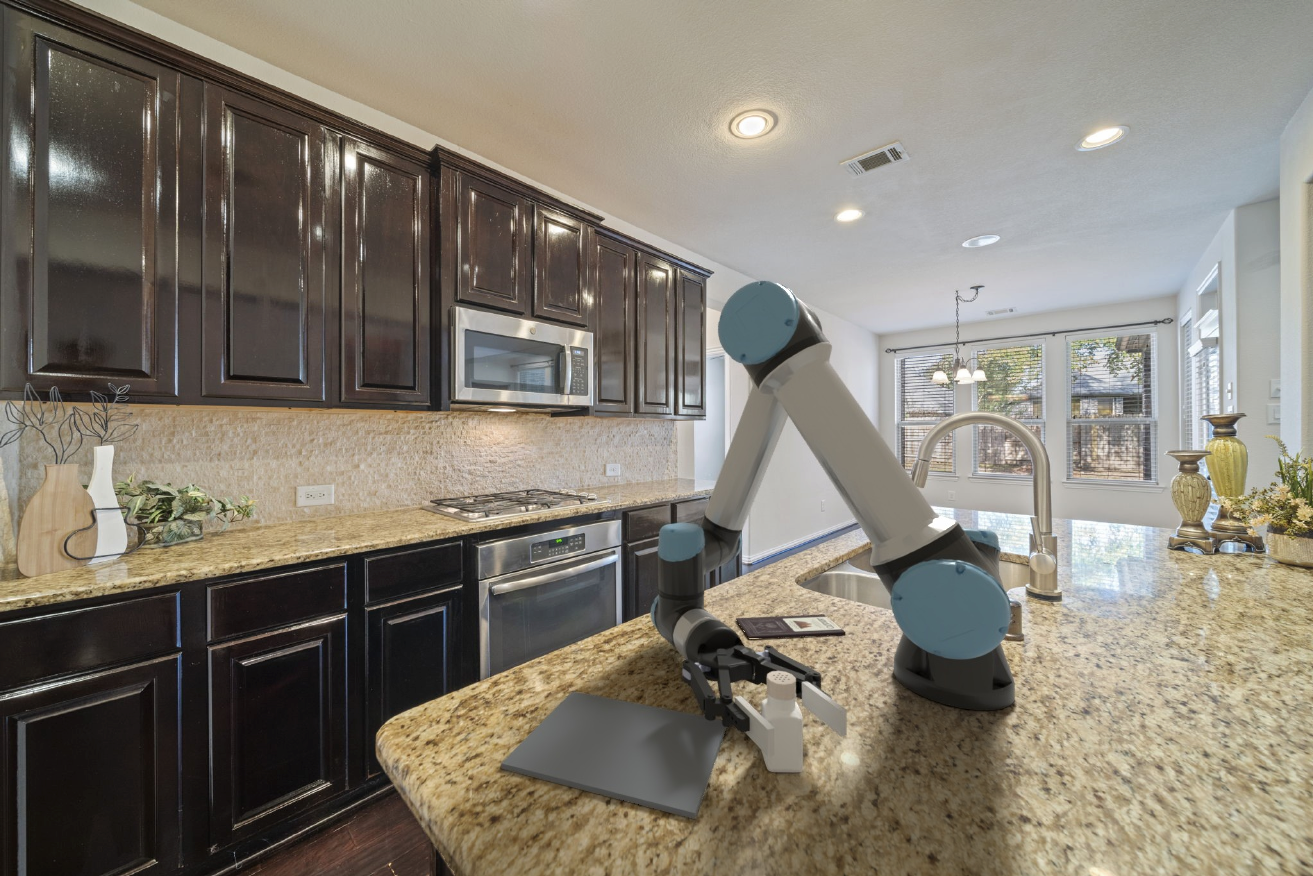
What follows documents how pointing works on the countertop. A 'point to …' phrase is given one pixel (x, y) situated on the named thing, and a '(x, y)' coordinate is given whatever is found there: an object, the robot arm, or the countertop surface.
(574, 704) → the rubber mat
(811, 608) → the countertop surface
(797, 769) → the salt shaker
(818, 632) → the chocolate bar
